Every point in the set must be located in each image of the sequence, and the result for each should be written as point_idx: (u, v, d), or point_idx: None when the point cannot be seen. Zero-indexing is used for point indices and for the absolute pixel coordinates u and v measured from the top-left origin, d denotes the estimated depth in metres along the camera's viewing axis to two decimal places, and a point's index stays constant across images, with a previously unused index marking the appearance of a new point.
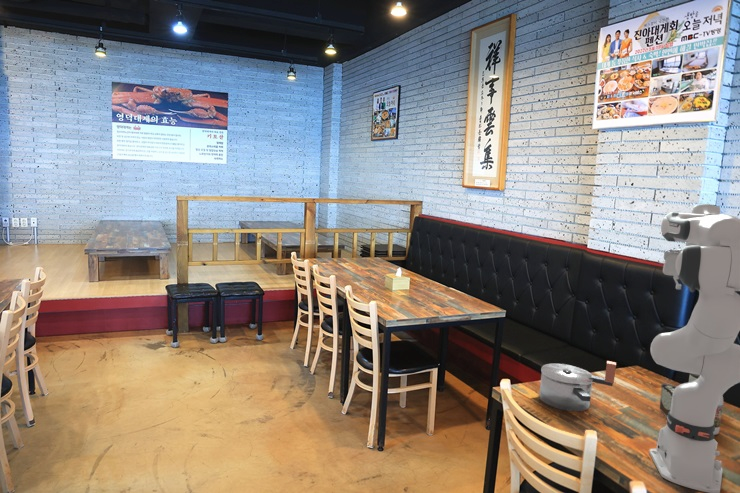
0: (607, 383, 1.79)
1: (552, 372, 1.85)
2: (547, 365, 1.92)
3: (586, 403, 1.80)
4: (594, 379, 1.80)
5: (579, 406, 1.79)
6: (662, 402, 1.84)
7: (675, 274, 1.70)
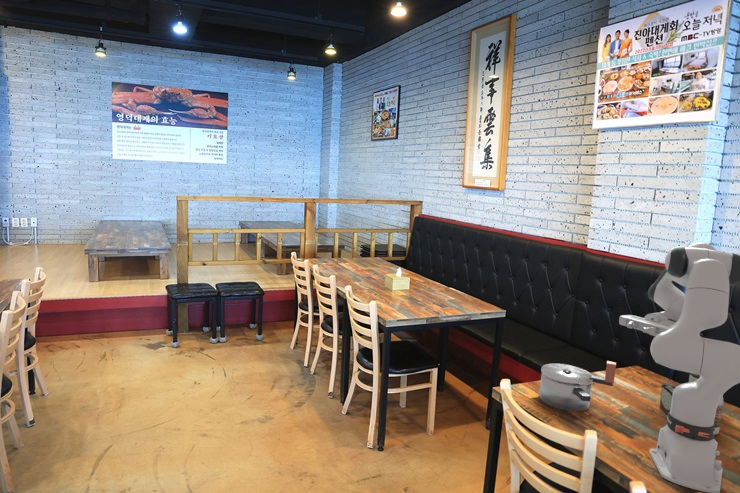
0: (607, 383, 1.79)
1: (552, 372, 1.85)
2: (547, 365, 1.92)
3: (586, 403, 1.80)
4: (594, 379, 1.80)
5: (579, 406, 1.79)
6: (662, 402, 1.84)
7: (628, 317, 1.93)
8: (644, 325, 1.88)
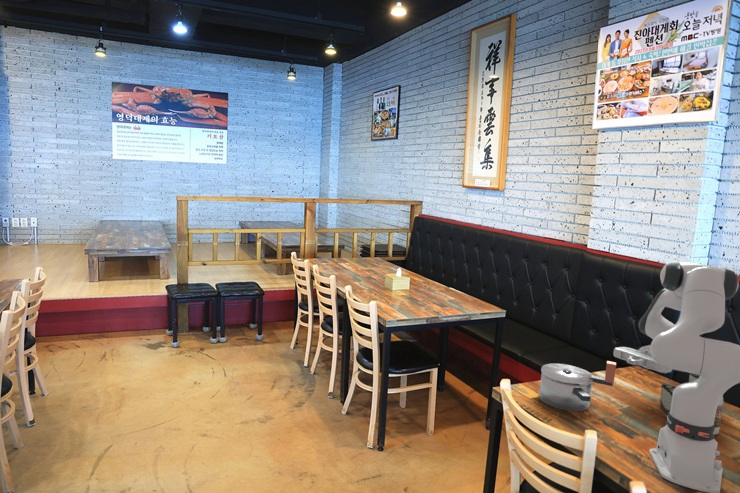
0: (607, 383, 1.79)
1: (552, 372, 1.85)
2: (547, 365, 1.92)
3: (586, 403, 1.80)
4: (594, 379, 1.80)
5: (579, 406, 1.79)
6: (662, 402, 1.84)
7: (622, 350, 1.94)
8: (638, 358, 1.89)
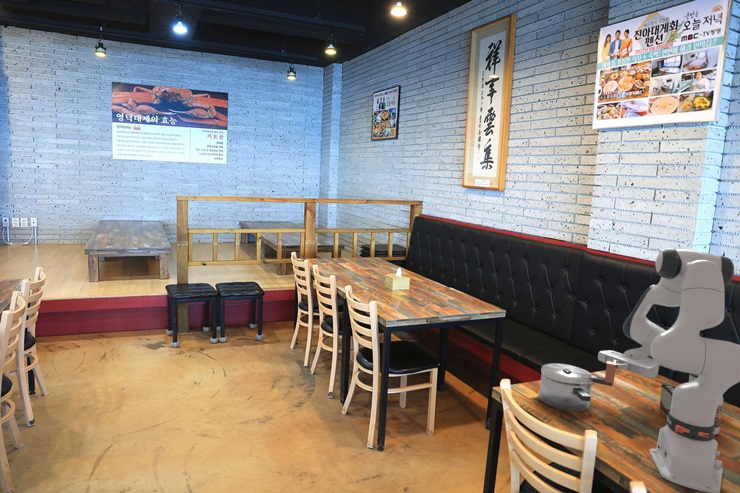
0: (607, 383, 1.78)
1: (552, 372, 1.85)
2: (547, 365, 1.92)
3: (586, 403, 1.80)
4: (594, 379, 1.80)
5: (579, 406, 1.79)
6: (662, 402, 1.84)
7: (607, 354, 1.87)
8: (623, 362, 1.82)
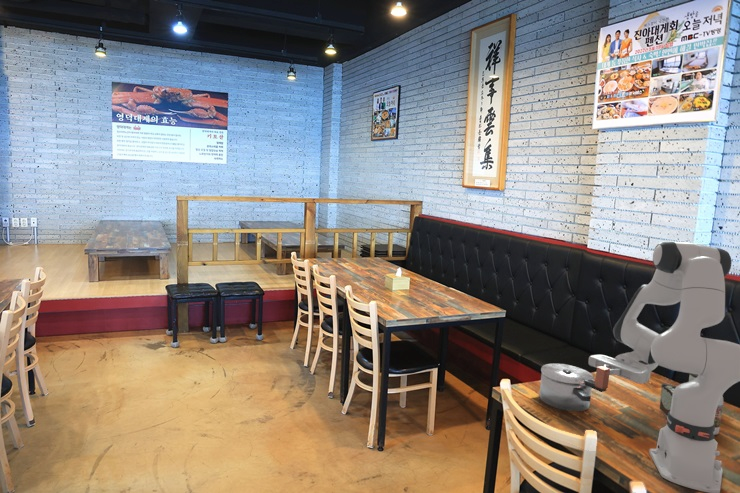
0: (597, 388, 1.73)
1: (550, 369, 1.88)
2: (556, 364, 1.94)
3: (586, 403, 1.80)
4: (586, 382, 1.77)
5: (579, 406, 1.79)
6: (662, 402, 1.84)
7: (598, 358, 1.82)
8: (614, 367, 1.77)
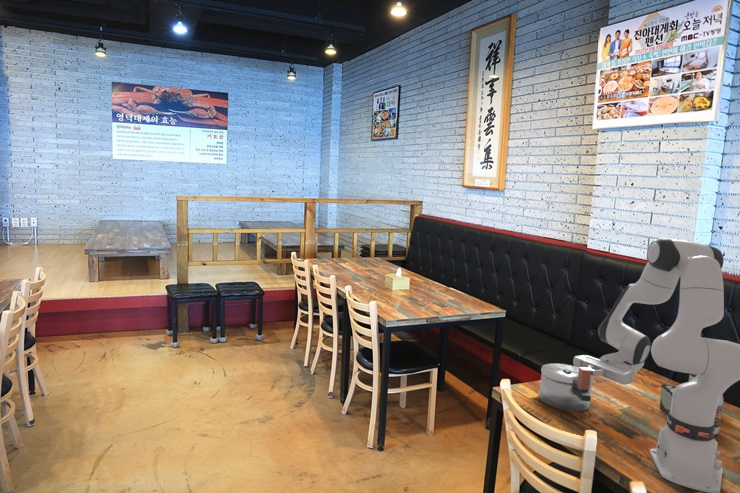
0: (578, 388, 1.72)
1: (552, 367, 1.91)
2: (568, 365, 1.94)
3: (586, 403, 1.80)
4: (573, 382, 1.77)
5: (579, 406, 1.79)
6: (662, 402, 1.84)
7: (582, 359, 1.80)
8: (598, 368, 1.75)
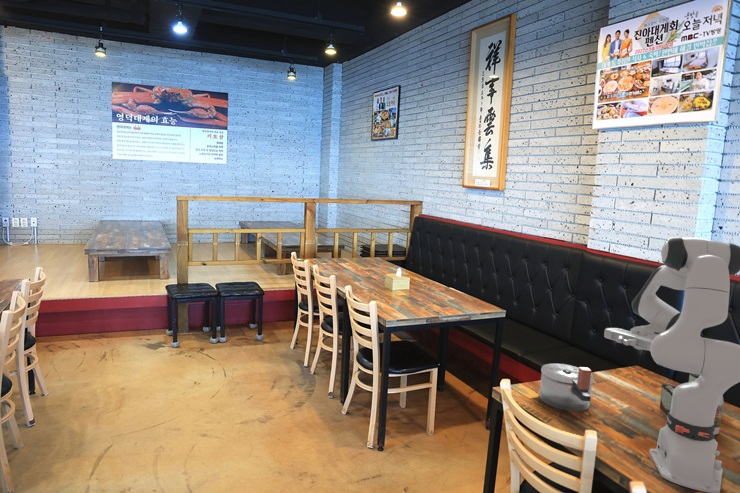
0: (578, 388, 1.72)
1: (552, 367, 1.91)
2: (568, 365, 1.94)
3: (586, 403, 1.80)
4: (573, 382, 1.77)
5: (579, 406, 1.79)
6: (662, 402, 1.84)
7: (613, 330, 1.86)
8: (630, 338, 1.81)
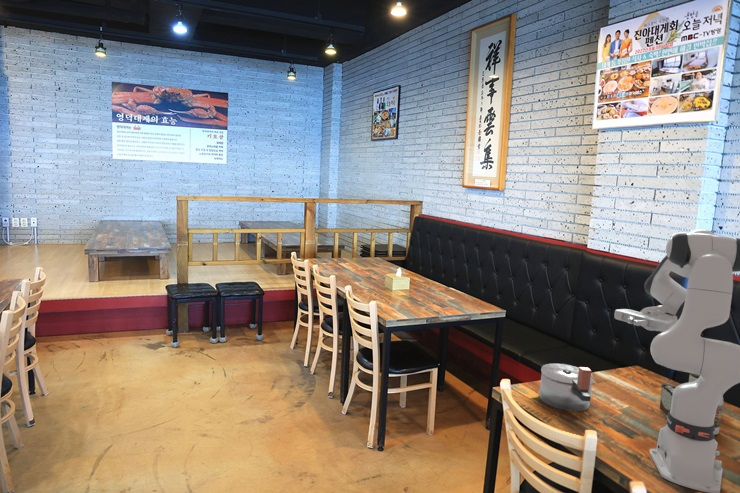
0: (578, 388, 1.72)
1: (552, 367, 1.91)
2: (568, 365, 1.94)
3: (586, 403, 1.80)
4: (573, 382, 1.77)
5: (579, 406, 1.79)
6: (662, 402, 1.84)
7: (624, 311, 1.85)
8: (640, 319, 1.80)
